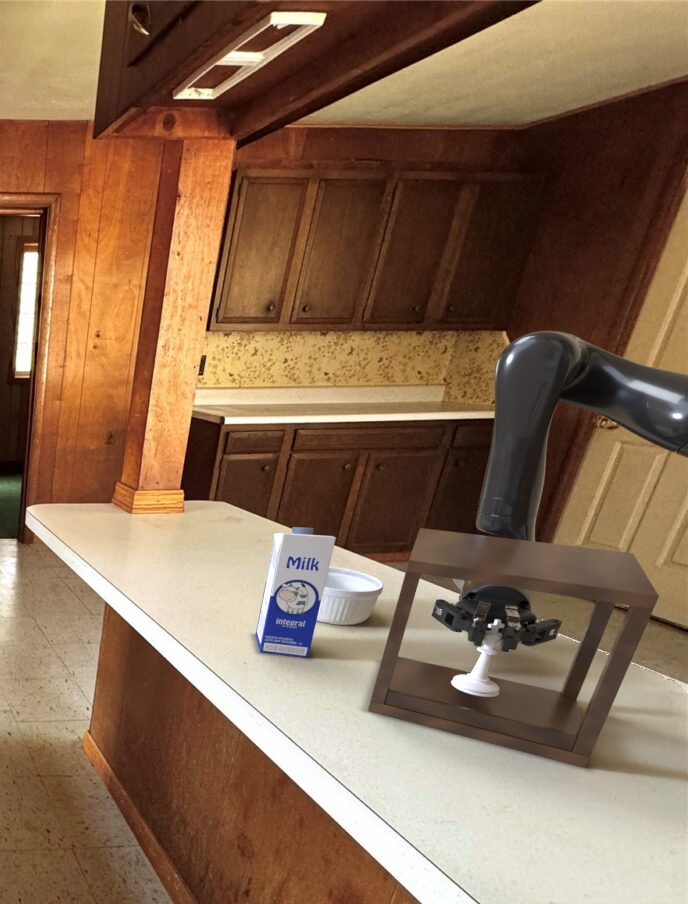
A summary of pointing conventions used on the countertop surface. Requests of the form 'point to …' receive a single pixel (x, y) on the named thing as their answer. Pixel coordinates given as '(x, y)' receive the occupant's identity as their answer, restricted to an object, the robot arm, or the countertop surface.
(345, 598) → the ramekin
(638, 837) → the countertop surface
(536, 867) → the countertop surface
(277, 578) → the milk carton
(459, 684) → the chess piece
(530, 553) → the rack
